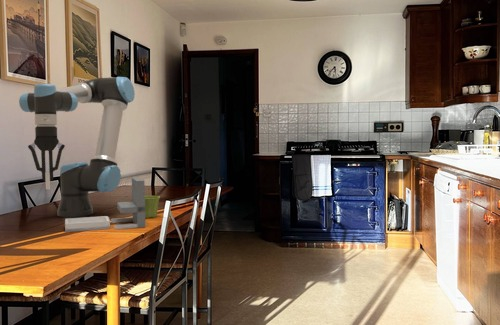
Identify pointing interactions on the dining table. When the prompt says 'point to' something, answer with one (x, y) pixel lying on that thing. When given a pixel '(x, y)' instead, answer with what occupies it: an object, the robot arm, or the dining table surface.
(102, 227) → the white rectangular slab
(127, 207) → the stand
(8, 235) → the dining table surface
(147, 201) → the plant pot
